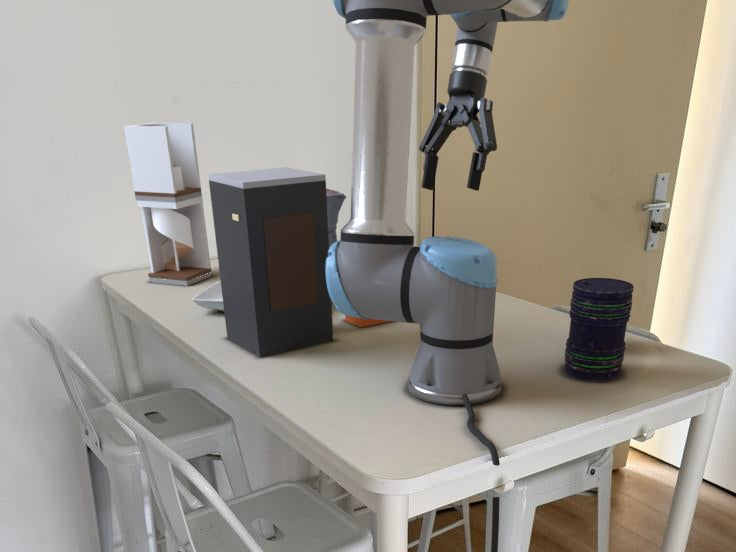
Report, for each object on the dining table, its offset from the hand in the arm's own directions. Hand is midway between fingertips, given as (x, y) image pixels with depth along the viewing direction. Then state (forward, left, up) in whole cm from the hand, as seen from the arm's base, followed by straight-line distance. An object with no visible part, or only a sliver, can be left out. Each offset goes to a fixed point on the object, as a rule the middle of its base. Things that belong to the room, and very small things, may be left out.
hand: (449, 189), depth 158 cm
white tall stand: (+34, +62, -24) cm, 75 cm away
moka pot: (+51, +26, -24) cm, 63 cm away
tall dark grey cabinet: (-19, +36, -24) cm, 47 cm away
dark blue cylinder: (-44, -19, -24) cm, 53 cm away
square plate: (+9, +38, -24) cm, 46 cm away
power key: (-5, +12, -24) cm, 27 cm away
